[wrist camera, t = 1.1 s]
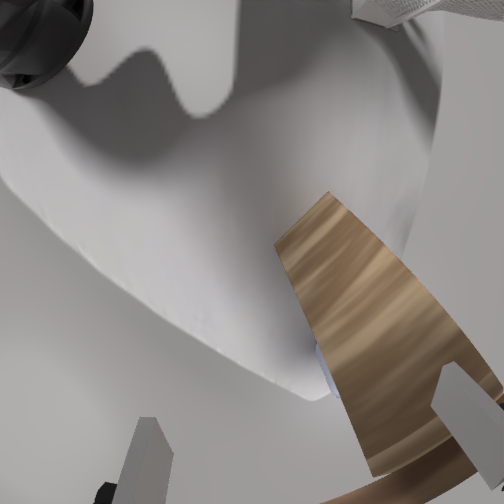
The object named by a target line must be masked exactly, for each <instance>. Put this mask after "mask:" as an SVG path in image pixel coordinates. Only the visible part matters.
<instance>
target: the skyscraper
mask: <svg viewBox="0 0 504 504" xmlns="http://www.w3.org/2000/svg"><path fill="white" fill-rule="evenodd" d="M437 10H443V11H449V12H453V13H457V14H461V15H466V16H471V17H476V18H482V19H488V20H495V21H504V0H351V18H352V19H356V20H360V21H364V22H367V23H371V24H374V25H377V26H381V27H384V28H387V29H390V30H393V31H396V32H398V24H400V23H403V22H405V21H407V20H410V19H412V18H414V17H417V16H419V15H421V14H423V13H425V12H427V11H437Z"/></svg>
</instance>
